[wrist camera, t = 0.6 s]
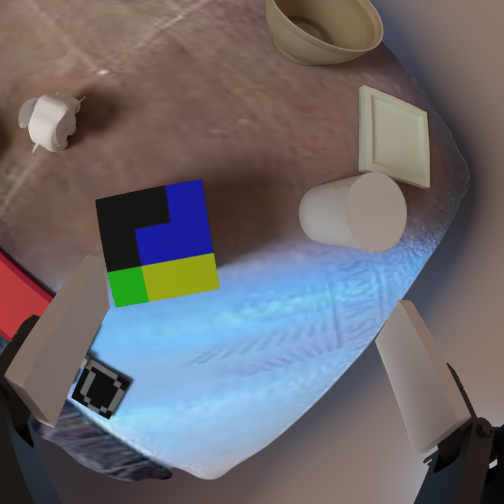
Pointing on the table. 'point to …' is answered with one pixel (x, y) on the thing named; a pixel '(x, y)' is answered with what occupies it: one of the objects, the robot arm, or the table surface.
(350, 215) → the white cylinder
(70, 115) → the elephant figurine
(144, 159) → the table surface
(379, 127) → the tray
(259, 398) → the table surface
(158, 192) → the puzzle toy
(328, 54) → the planter bowl
